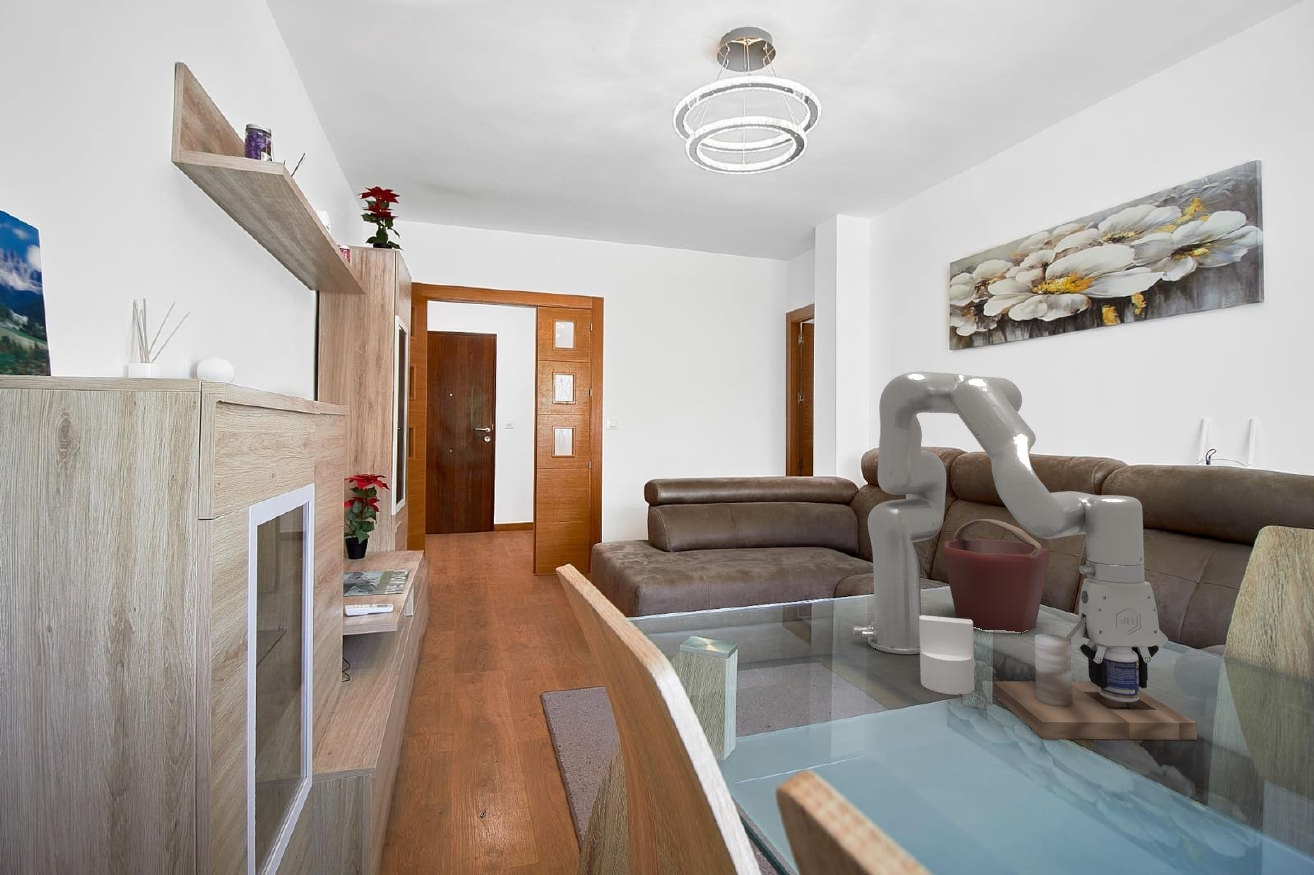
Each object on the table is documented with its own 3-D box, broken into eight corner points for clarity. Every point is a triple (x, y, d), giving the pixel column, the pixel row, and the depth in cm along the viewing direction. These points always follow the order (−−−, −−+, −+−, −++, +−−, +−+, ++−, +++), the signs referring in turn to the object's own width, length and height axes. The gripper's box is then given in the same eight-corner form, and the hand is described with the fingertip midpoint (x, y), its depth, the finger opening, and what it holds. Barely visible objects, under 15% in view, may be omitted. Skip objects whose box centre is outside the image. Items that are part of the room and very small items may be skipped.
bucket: (1070, 639, 141) (1068, 526, 141) (970, 640, 141) (967, 528, 141) (1010, 609, 165) (1008, 513, 165) (925, 611, 166) (922, 514, 166)
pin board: (1042, 738, 96) (1040, 655, 96) (993, 695, 112) (991, 624, 112) (1196, 739, 94) (1194, 655, 94) (1124, 696, 110) (1122, 623, 110)
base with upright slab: (973, 679, 119) (972, 615, 119) (975, 697, 111) (973, 629, 111) (921, 673, 123) (920, 611, 123) (919, 690, 115) (918, 623, 115)
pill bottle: (1146, 704, 99) (1145, 641, 99) (1108, 702, 100) (1106, 640, 100) (1128, 690, 105) (1126, 631, 105) (1092, 689, 106) (1090, 630, 106)
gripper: (1073, 578, 99) (1076, 694, 99) (1188, 577, 98) (1192, 694, 98) (1047, 568, 107) (1050, 676, 107) (1154, 567, 106) (1157, 676, 106)
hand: (1118, 684), depth 102 cm, fingers closed on pill bottle, 5 cm apart
